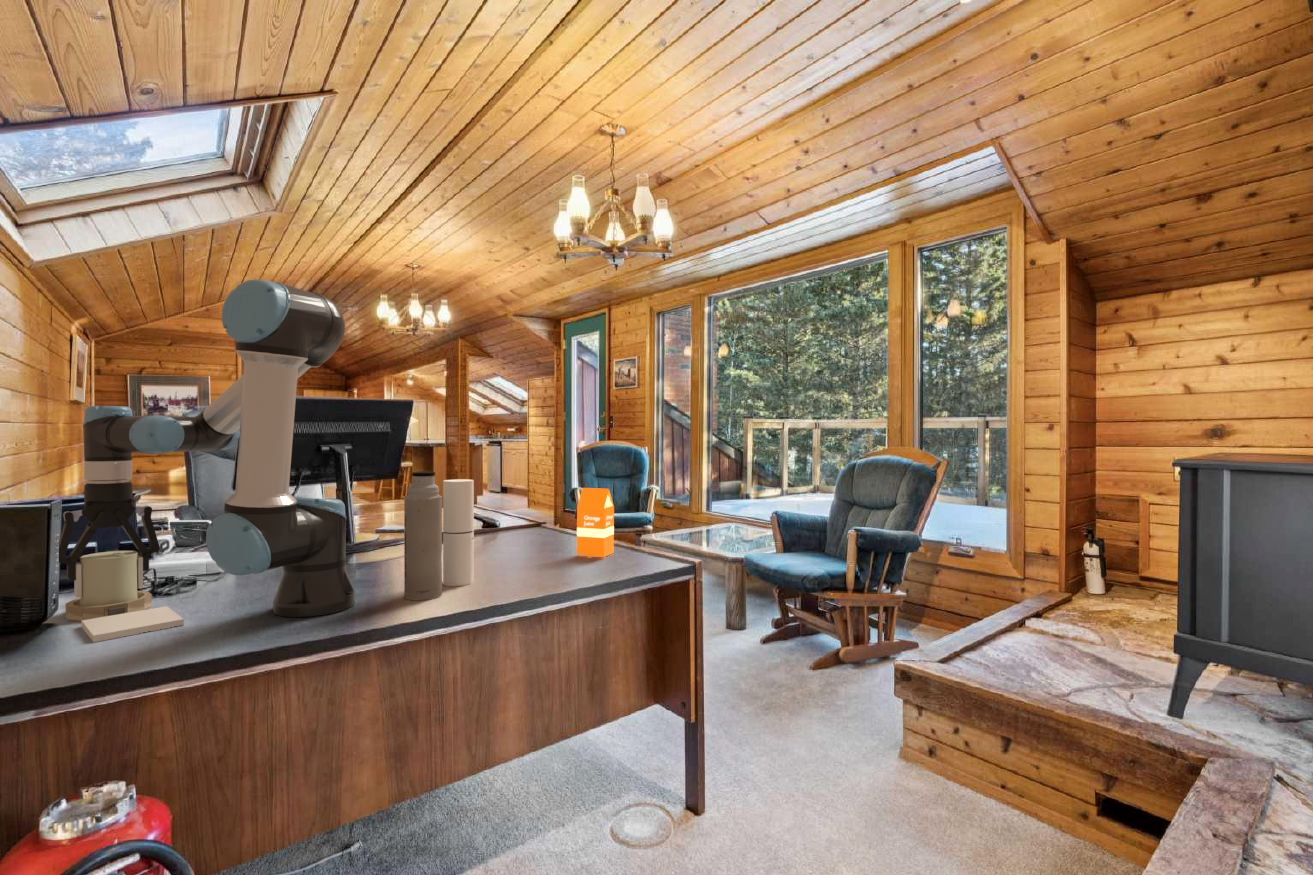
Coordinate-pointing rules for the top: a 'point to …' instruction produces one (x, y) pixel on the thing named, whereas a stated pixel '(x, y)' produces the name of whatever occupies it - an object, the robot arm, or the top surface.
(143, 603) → the collar
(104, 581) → the can
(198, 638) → the top surface
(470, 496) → the cylindrical container
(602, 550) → the orange juice
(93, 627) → the beige base plate
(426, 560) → the thermos bottle
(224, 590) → the top surface
